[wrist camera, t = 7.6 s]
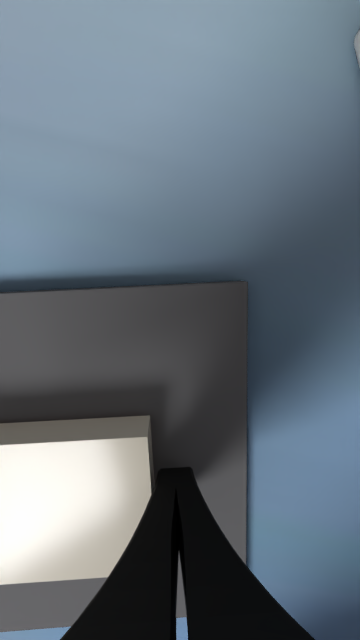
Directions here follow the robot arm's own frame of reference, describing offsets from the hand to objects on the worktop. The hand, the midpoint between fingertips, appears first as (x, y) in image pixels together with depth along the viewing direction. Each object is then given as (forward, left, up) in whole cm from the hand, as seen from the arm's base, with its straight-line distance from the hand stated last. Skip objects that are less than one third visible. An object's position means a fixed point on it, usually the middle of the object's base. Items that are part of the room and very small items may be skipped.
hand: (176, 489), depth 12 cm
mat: (0, +5, -1) cm, 5 cm away
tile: (0, +1, 0) cm, 1 cm away
